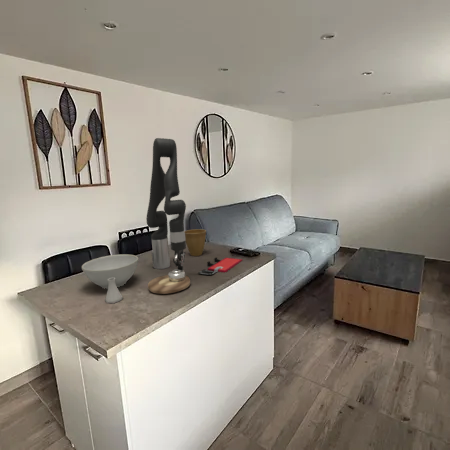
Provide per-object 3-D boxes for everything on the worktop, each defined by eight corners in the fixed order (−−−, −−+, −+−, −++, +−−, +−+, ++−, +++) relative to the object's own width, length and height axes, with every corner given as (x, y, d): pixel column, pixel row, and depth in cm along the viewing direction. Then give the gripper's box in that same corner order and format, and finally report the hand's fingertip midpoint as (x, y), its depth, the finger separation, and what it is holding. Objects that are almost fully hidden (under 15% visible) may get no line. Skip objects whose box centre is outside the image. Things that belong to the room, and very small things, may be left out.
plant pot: (206, 257, 188) (205, 232, 185) (183, 258, 189) (181, 234, 186) (208, 250, 203) (206, 228, 200) (187, 252, 203) (185, 229, 200)
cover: (166, 282, 141) (165, 273, 140) (171, 276, 149) (171, 267, 148) (182, 282, 140) (181, 273, 139) (187, 276, 148) (186, 267, 147)
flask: (112, 305, 126) (109, 283, 124) (102, 301, 130) (99, 280, 128) (126, 298, 132) (123, 277, 130) (115, 295, 136) (113, 275, 134)
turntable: (141, 294, 135) (140, 289, 134) (158, 278, 154) (158, 274, 153) (182, 295, 131) (182, 290, 130) (195, 279, 150) (194, 274, 150)
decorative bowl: (72, 292, 143) (68, 268, 141) (112, 273, 167) (109, 253, 165) (116, 297, 133) (112, 272, 131) (151, 277, 157) (148, 255, 155)
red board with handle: (194, 274, 158) (219, 278, 151) (194, 269, 157) (218, 272, 151) (220, 259, 184) (242, 261, 177) (220, 254, 184) (242, 257, 177)
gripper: (175, 236, 153) (178, 268, 157) (166, 243, 141) (169, 277, 144) (188, 236, 152) (191, 268, 156) (180, 243, 139) (184, 277, 143)
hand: (180, 272), depth 150 cm, fingers closed
